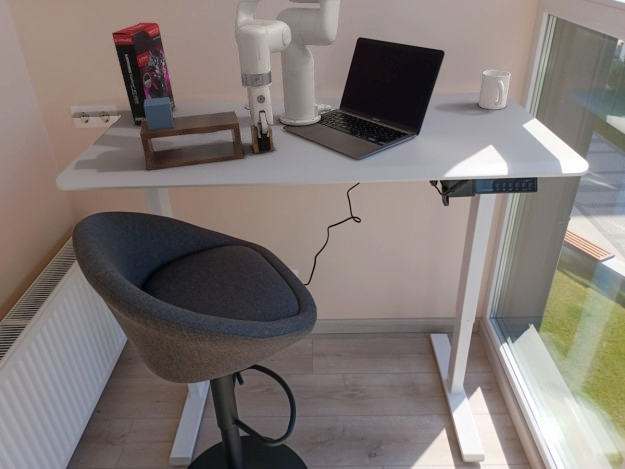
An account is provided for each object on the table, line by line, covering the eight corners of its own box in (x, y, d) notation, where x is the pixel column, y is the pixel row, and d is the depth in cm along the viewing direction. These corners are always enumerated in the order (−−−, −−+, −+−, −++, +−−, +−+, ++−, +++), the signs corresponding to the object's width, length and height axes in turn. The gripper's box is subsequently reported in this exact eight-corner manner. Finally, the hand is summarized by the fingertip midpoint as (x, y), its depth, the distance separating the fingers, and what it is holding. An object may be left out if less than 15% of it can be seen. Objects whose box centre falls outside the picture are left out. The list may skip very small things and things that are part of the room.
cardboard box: (270, 144, 140) (268, 123, 136) (273, 150, 135) (271, 129, 132) (252, 146, 139) (250, 125, 135) (255, 153, 134) (252, 131, 131)
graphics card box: (152, 126, 155) (133, 32, 141) (132, 125, 157) (110, 32, 142) (176, 109, 170) (160, 21, 155) (157, 108, 171) (139, 22, 157)
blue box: (173, 120, 130) (169, 96, 127) (173, 127, 125) (169, 103, 122) (149, 122, 129) (144, 99, 126) (148, 130, 124) (143, 106, 121)
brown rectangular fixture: (238, 144, 140) (234, 110, 135) (243, 158, 132) (239, 122, 127) (149, 155, 135) (141, 121, 130) (148, 170, 127) (140, 134, 122)
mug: (512, 113, 154) (518, 79, 149) (485, 114, 155) (490, 80, 149) (500, 101, 164) (506, 69, 159) (475, 102, 165) (479, 70, 159)
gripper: (277, 86, 121) (282, 156, 130) (265, 69, 135) (270, 133, 145) (246, 89, 119) (253, 160, 129) (237, 72, 134) (244, 137, 143)
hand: (262, 145), depth 137 cm, fingers open, 6 cm apart
